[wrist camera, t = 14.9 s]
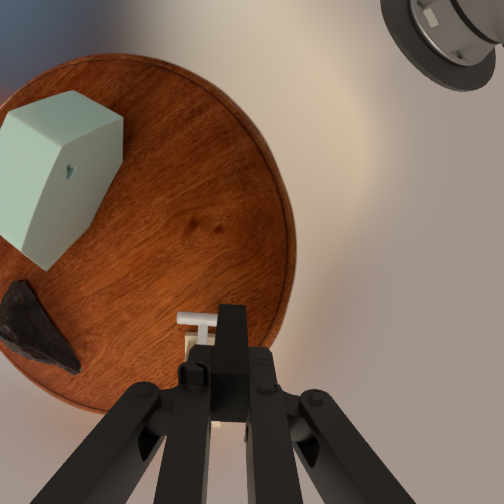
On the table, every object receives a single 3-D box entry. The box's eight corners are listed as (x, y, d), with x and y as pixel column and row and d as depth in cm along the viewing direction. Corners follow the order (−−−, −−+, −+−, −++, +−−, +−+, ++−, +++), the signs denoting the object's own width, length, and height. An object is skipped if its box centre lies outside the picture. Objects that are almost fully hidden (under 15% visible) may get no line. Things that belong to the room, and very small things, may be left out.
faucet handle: (179, 311, 37) (176, 311, 35) (230, 314, 37) (230, 314, 35) (175, 408, 35) (173, 414, 32) (225, 412, 35) (225, 418, 33)
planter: (84, 156, 42) (69, 54, 23) (123, 180, 43) (125, 81, 24) (17, 249, 35) (-53, 186, 16) (57, 279, 37) (-2, 233, 18)
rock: (24, 272, 41) (-9, 293, 32) (88, 361, 45) (67, 395, 36) (2, 293, 41) (-29, 314, 33) (62, 375, 46) (41, 407, 37)
